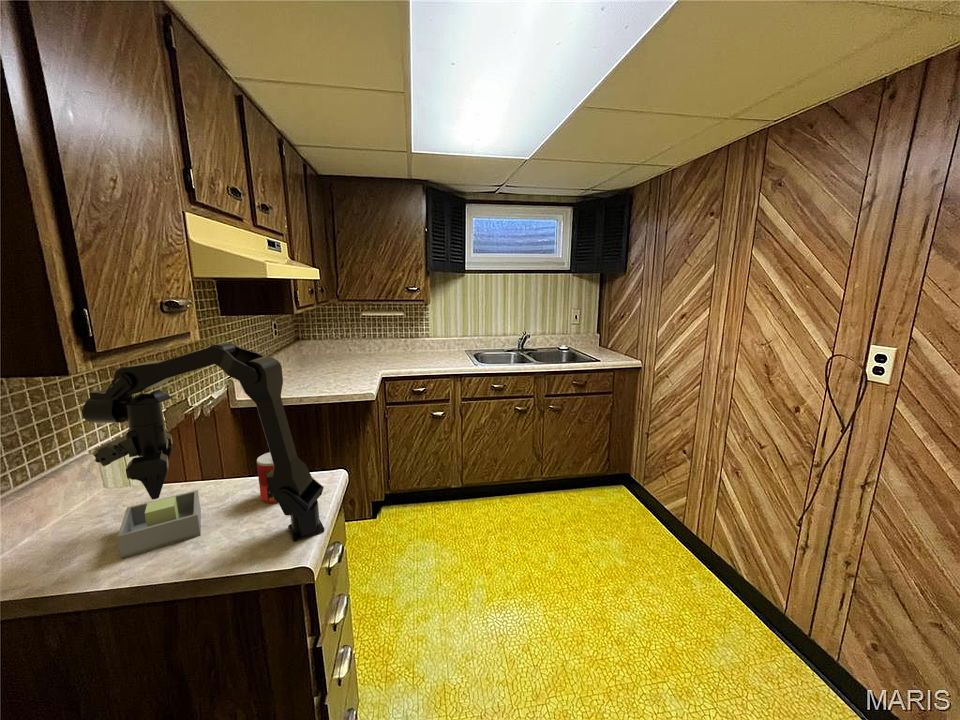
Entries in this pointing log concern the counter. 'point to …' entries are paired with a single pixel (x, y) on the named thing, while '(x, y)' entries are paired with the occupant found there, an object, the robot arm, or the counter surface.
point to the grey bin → (159, 526)
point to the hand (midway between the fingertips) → (157, 489)
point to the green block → (161, 511)
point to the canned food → (265, 476)
